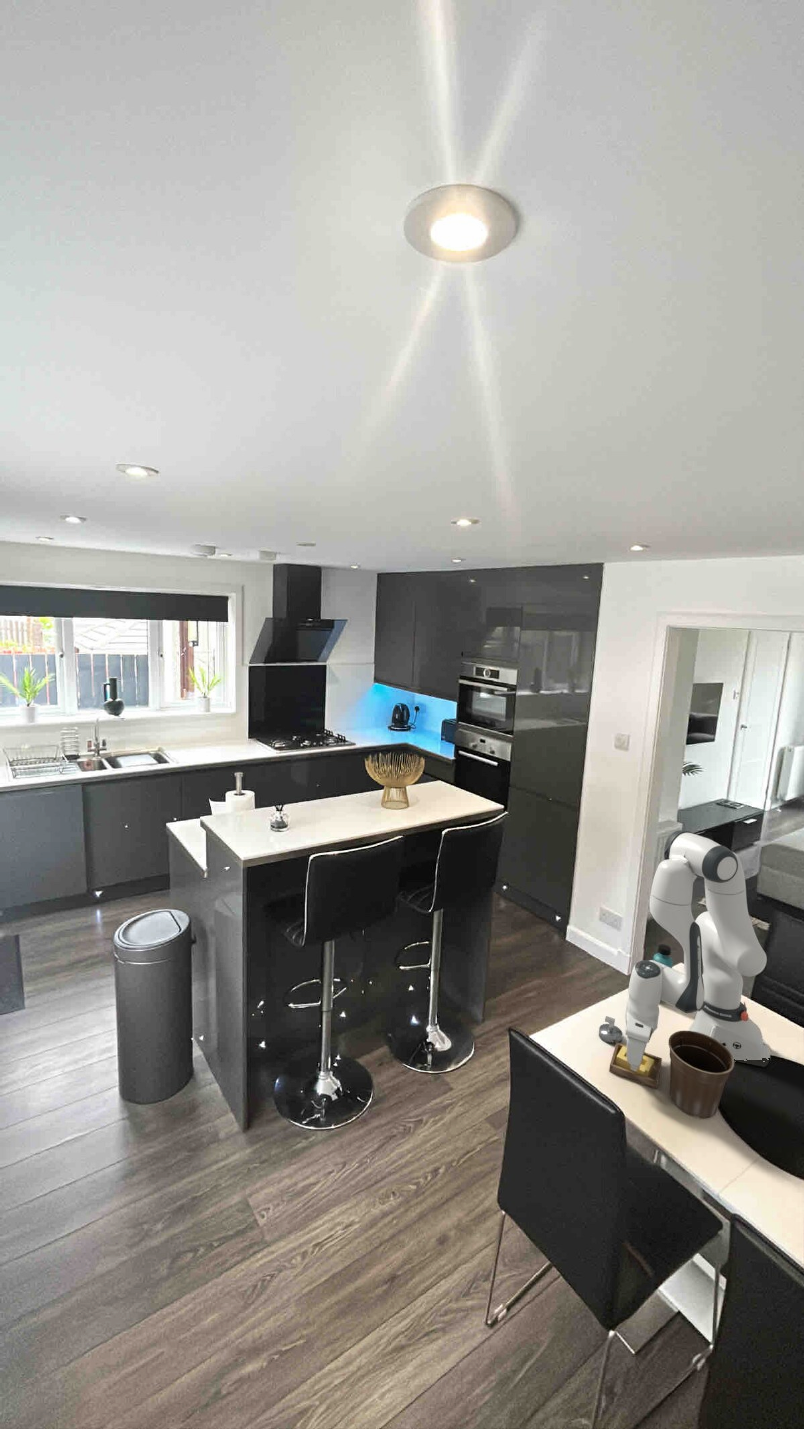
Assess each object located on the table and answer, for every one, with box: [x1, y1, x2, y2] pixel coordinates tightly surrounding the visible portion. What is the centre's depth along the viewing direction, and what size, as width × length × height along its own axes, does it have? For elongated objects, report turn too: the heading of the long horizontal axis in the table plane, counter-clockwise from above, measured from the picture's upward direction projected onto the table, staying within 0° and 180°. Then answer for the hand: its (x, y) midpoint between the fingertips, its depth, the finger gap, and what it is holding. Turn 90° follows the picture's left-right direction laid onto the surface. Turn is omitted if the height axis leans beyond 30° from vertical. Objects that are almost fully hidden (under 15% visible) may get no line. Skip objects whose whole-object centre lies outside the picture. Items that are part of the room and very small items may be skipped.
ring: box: [616, 1046, 654, 1077], centre depth 183 cm, size 7×9×3 cm
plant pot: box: [668, 1030, 735, 1120], centre depth 170 cm, size 16×16×16 cm
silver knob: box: [598, 1015, 624, 1046], centre depth 195 cm, size 7×7×6 cm
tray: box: [608, 1043, 663, 1090], centre depth 183 cm, size 13×11×2 cm
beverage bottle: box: [652, 943, 674, 1002], centre depth 214 cm, size 6×7×20 cm
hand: (636, 1058), depth 183 cm, fingers open, 8 cm apart
